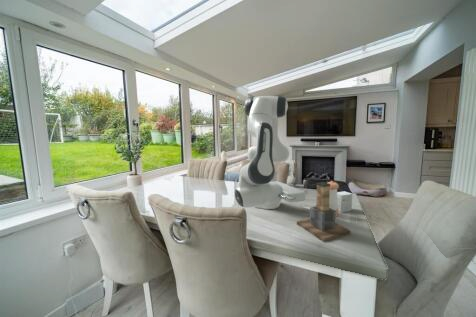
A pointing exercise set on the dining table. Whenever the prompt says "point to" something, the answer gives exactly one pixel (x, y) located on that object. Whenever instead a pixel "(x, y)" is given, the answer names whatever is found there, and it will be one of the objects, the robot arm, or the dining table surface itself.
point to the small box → (344, 201)
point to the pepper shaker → (333, 196)
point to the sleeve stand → (323, 225)
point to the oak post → (323, 196)
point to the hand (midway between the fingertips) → (299, 188)
